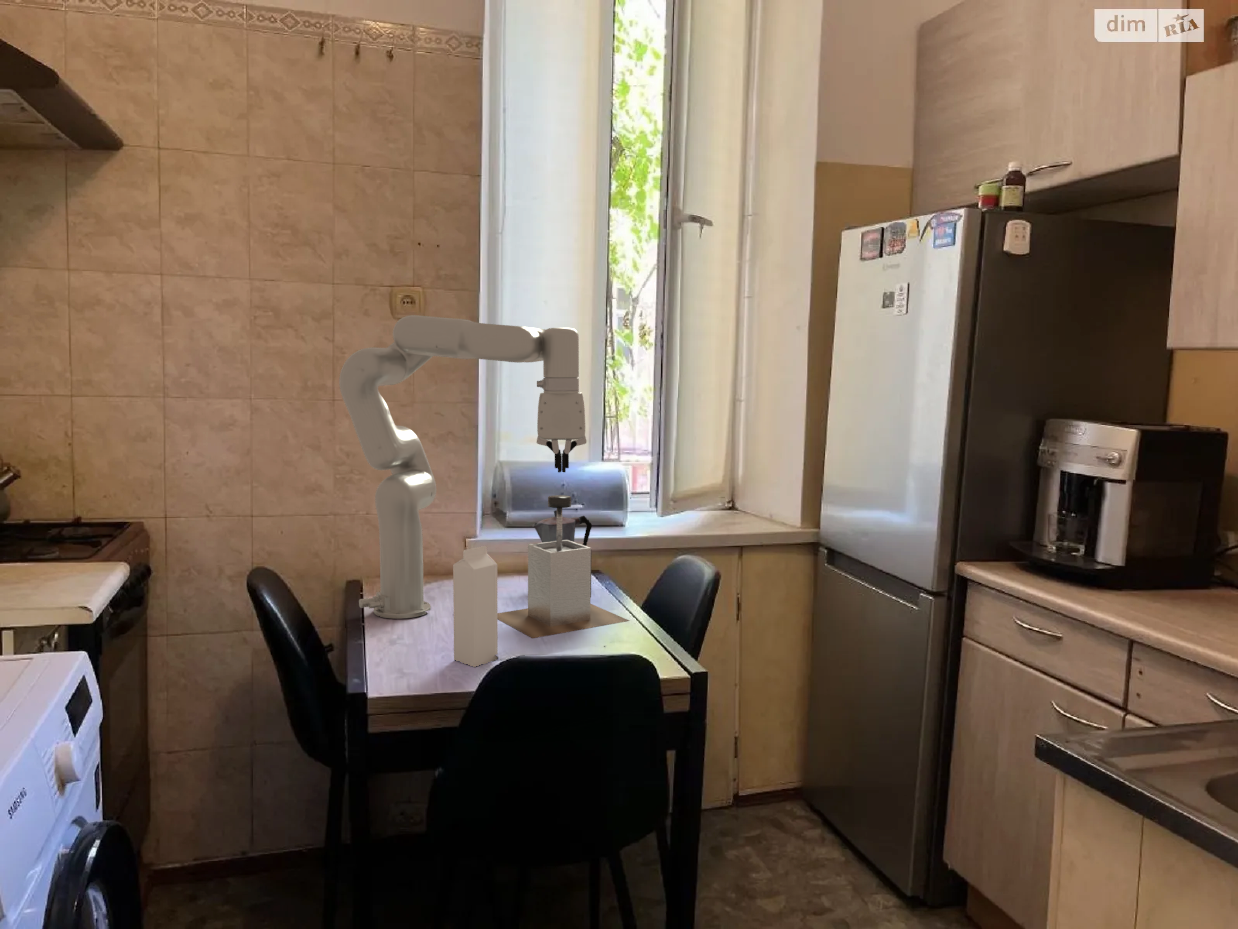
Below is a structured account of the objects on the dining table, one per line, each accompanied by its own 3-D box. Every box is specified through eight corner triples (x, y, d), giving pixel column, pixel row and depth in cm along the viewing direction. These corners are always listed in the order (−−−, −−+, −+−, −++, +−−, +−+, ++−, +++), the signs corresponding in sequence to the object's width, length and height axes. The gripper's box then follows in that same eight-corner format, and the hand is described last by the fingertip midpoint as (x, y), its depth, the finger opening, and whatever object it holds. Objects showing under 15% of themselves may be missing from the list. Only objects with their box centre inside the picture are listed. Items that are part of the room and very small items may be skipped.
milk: (497, 660, 177) (498, 547, 174) (474, 668, 172) (474, 552, 169) (476, 653, 181) (477, 543, 178) (452, 660, 176) (452, 547, 173)
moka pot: (526, 586, 233) (526, 508, 230) (582, 580, 239) (583, 505, 237) (539, 595, 224) (539, 514, 222) (597, 589, 231) (598, 511, 228)
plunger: (552, 560, 194) (552, 501, 193) (534, 553, 201) (534, 495, 199) (584, 556, 199) (585, 498, 197) (565, 549, 205) (566, 493, 204)
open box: (550, 626, 194) (550, 552, 192) (527, 615, 203) (528, 544, 201) (601, 617, 202) (602, 546, 200) (578, 607, 210) (578, 538, 208)
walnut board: (532, 644, 187) (532, 638, 186) (489, 619, 203) (489, 614, 203) (629, 626, 200) (629, 620, 200) (581, 604, 216) (581, 599, 216)
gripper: (524, 386, 191) (525, 474, 193) (596, 386, 192) (596, 473, 194) (527, 385, 199) (528, 469, 201) (596, 385, 199) (596, 469, 201)
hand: (561, 471), depth 197 cm, fingers closed
